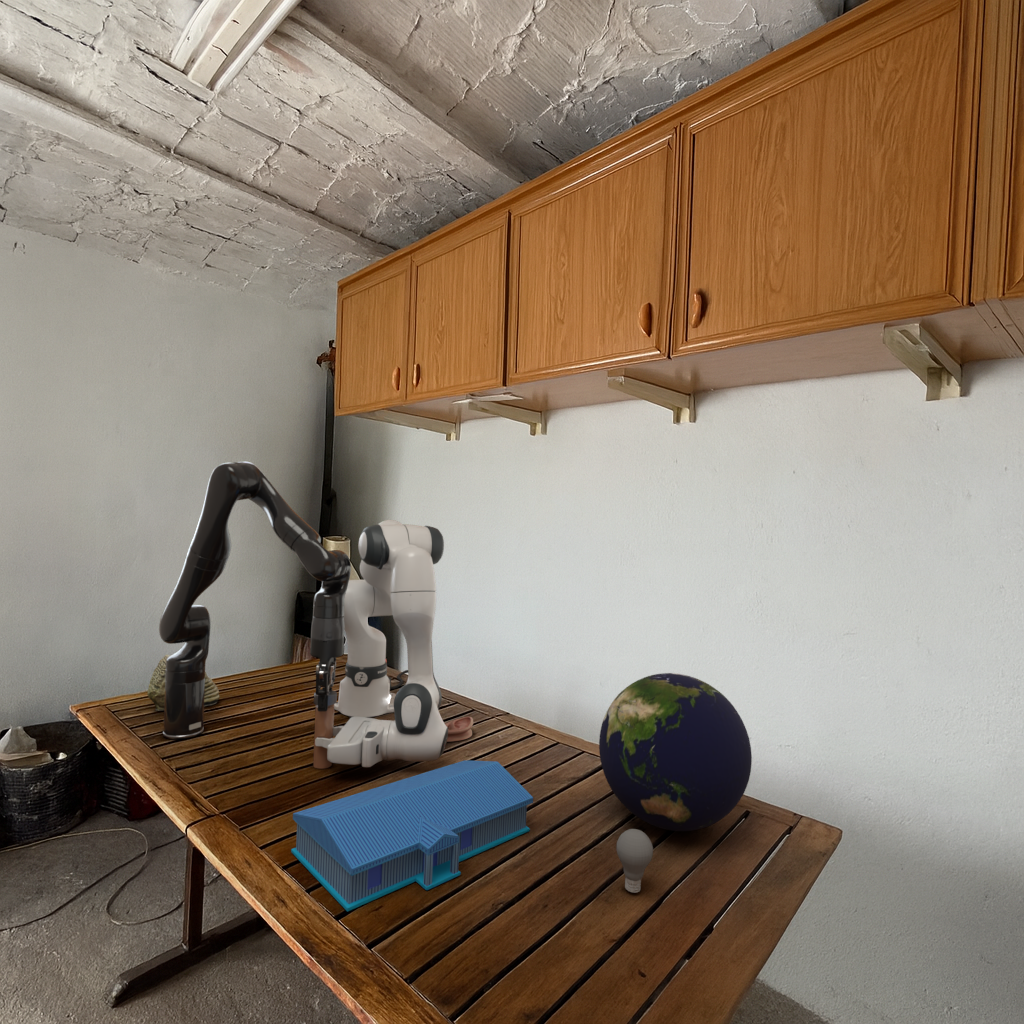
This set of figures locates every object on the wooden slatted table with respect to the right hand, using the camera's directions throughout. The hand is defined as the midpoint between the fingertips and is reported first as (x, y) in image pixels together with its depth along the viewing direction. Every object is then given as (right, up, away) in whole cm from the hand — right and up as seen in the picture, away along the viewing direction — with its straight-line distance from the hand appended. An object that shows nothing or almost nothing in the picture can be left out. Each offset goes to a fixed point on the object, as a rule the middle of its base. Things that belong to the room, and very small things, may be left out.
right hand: (319, 736), depth 149 cm
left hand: (+1, +7, 0) cm, 7 cm away
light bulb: (+65, -10, -44) cm, 79 cm away
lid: (+1, +10, 0) cm, 10 cm away
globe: (+77, -11, -20) cm, 81 cm away
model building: (+28, -9, -32) cm, 44 cm away
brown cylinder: (+1, -7, 0) cm, 7 cm away
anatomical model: (+28, -8, +22) cm, 36 cm away
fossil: (-51, -4, +36) cm, 62 cm away
